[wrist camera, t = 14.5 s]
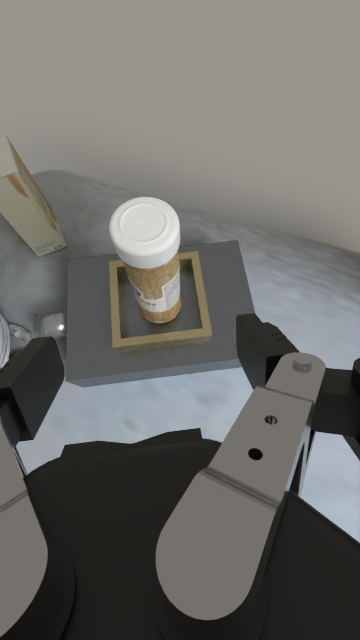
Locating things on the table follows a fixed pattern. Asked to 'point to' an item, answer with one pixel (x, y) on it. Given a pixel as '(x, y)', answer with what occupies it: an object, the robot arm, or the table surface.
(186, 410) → the table surface
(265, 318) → the table surface
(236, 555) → the robot arm
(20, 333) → the cable
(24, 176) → the skincare box
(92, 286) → the grey block with recess
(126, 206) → the sprinkles bottle
